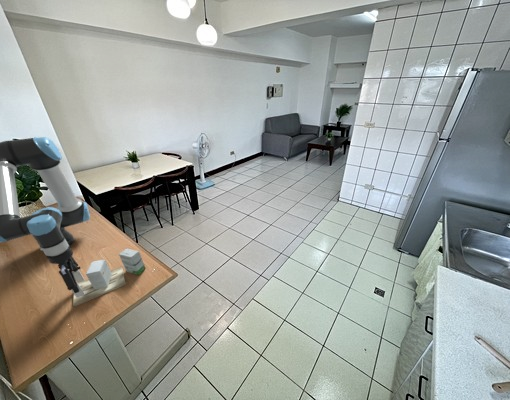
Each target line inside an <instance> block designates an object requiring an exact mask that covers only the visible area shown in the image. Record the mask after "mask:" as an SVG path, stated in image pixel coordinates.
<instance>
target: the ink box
mask: <svg viewBox="0 0 510 400" xmlns="http://www.w3.org/2000/svg"><path fill="white" fill-rule="evenodd" d="M118 256H119V259H120V260H121V263H122V265H123V268H124V269H125V272H126V273H127V272H128V273H130V274H134V275H138V276H139V275H141V274H142V273H143V272H144V271H145V270H146V266H145V262H144V261H143V258H142V256H141V253H140V251H139V250H135V249H130V248H125V249H123V250H122V251H121V252H119V254H118Z"/></svg>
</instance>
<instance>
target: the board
mask: <svg viewBox="0 0 510 400" xmlns="http://www.w3.org/2000/svg"><path fill="white" fill-rule="evenodd" d="M110 271H111V273H112V276H111V279H110V282H109V285H108V287H105V288H101V289H97V290H95V289H94V287H93V286H92V284H91V282H90V281H89V279H88V278H87V279H85V281H83V282H80V283H77V284H79V286H80V287H81V289H82V290H83V292H84V295H82V296H80V297H78V298H77V297H76V296H75V294H74V293H73V301H72V306H73V308H75V307H77V306H79V305H81V304H83V303H86V302H89V301H91V300H93V299H95V298H98V297H100V296H103V295H105V294H108V293H109V292H112V291H114V290H117V289H119V288H122V287H123V286H126V277H125V271H124V266H119V267H116V268H114V269H112V270H111V269H110Z"/></svg>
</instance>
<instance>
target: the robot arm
mask: <svg viewBox="0 0 510 400" xmlns="http://www.w3.org/2000/svg"><path fill="white" fill-rule="evenodd" d="M62 157H63V156H62V153H61V152H60V150H59V148H58V147H57V145H56V144H55V143H54V141H53V140H51V139H50V138H49V137H46V136H45V137H44V136H43V137H42V136H40V137H39V136H38V137H36V136H35V137H30V138H22V139H13V140H4V141H1V142H0V243H4V242H9V241H12V240H15V239H18V238H22V237H25V236H29V235H31V236H32V237H33V238H34V240H35V241H36V243H37V244H38V246H39V247H40V249H39V250H40V251H42V252H43V253H44V255H45V256H46V258H47V260H48V261H49V263H50V264H53V265H57V266H58V267H57V268H58V269H59V271H58V274H59V275H60V276H61V278H62V280H63V282H64V284H65V286H66V288H67V290H68V291H72V292H73V295H74V294H75V296H76V297H77V298H78V297H80V296H82V295H84V292H83V290H82V289H81V287H80V286H79V284H78V283H80V282H83V281H86V279H85V277H84V276H83V274H82V273H81V271H80V270H81V269H82V268H81V266H79V264H78V262H77V261H76V260H75V258H74V256H73V254H74V251H73V249H72V248H71V247H70V246H71V244H73V243H74V241H75V236H74V235H73V234H72V233H70V231H68V230H67V229H66V228H67V227H70V226H74V225H78V224H83V223H84V222H88V221H89V220H90V219H91V215H90V210H89V206H88V203H87V202H86V201H82V200H81V199H80V198H77V196H76V195H75V193H74V191H73V190H72V188H71V186H70V184H69V181H68V179H66V177H65V175H64V173H63V171H62V169H61V167H60V164H61V160H62ZM21 166H22V167H23V166H28V167H29V168H30V169H31V170H33V171H37V173H38V175H39V177H41V180H42V181H43V182H44V184H45V186H46V187H47V189H48V190H49V192H50V194H51V195H52V196H53V198H54V199H55V201H56V203H57V207H53V206H48V207H43V208H40V209H38V210H37V211H34V212H32V213H31V214H30V215H26V216H22V217H21V214H20V209H19V208H20V206H19V201H18V193H17V184H16V179H15V178H16V177H15V173H17V171H18V167H21Z"/></svg>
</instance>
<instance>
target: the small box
mask: <svg viewBox="0 0 510 400" xmlns="http://www.w3.org/2000/svg"><path fill="white" fill-rule="evenodd" d="M85 275H86V277H87V280H88V279H89V281H90V282H91V284H92V286H93V287H94V289H95V290H97V289H101V288H105V287H108V285H109V282H110V279H111V276H112V273H111V269H110V267H109V265H108V263H107V261H106V260H105V259H99V260H94V261H91V262H90V264H89V266H88V268H87V271H86V273H85Z"/></svg>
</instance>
